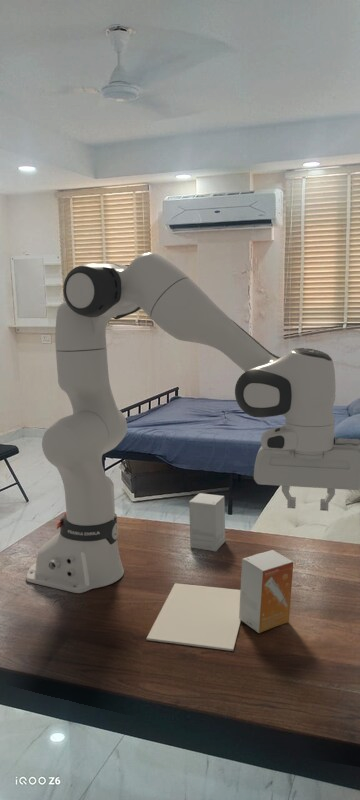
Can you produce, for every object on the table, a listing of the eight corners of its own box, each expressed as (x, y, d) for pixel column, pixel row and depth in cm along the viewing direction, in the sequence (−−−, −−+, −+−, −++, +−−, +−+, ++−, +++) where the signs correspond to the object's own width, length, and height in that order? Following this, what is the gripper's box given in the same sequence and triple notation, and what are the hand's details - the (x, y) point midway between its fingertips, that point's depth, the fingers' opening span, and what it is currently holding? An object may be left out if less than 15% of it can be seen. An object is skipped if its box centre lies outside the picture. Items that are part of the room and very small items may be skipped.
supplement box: (226, 541, 155) (225, 495, 153) (215, 552, 148) (215, 504, 146) (200, 537, 158) (199, 492, 156) (189, 547, 151) (188, 501, 149)
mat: (146, 640, 111) (146, 638, 111) (175, 584, 132) (175, 583, 132) (233, 651, 107) (233, 649, 107) (248, 592, 128) (248, 590, 128)
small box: (259, 634, 112) (262, 571, 109) (238, 618, 117) (241, 557, 114) (290, 622, 116) (294, 561, 114) (268, 607, 121) (272, 548, 119)
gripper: (367, 435, 109) (364, 506, 111) (256, 431, 113) (256, 499, 116) (369, 443, 103) (366, 518, 105) (252, 438, 107) (252, 510, 110)
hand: (307, 508), depth 110 cm, fingers open, 5 cm apart
